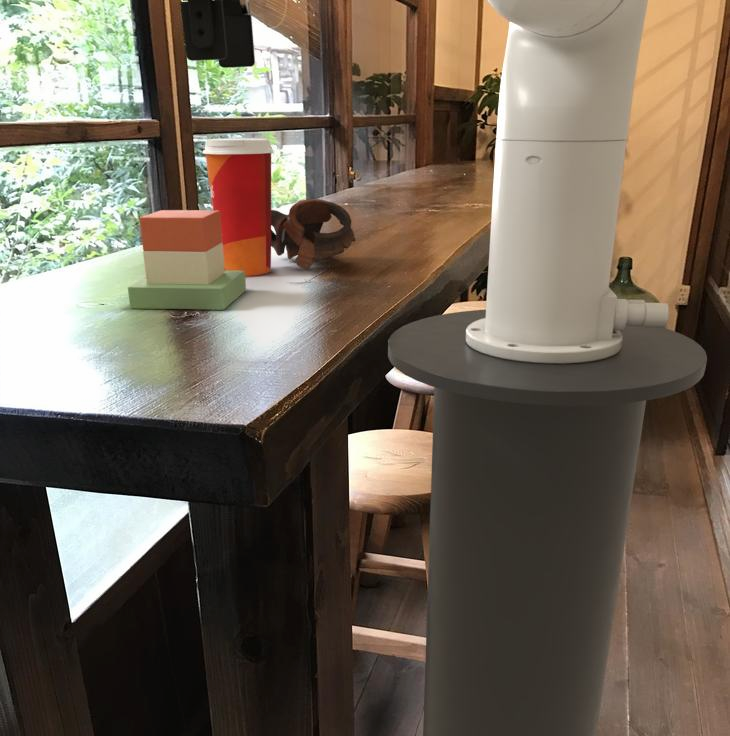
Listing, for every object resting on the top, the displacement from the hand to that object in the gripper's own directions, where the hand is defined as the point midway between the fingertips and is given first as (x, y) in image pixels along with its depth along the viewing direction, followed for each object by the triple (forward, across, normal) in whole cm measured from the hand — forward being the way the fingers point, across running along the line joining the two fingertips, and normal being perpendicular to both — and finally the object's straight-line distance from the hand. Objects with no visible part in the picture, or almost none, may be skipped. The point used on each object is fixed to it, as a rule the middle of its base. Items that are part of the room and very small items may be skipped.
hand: (223, 63), depth 68 cm
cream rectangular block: (+18, +2, +6) cm, 19 cm away
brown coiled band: (+20, +24, -2) cm, 31 cm away
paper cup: (+20, +18, +4) cm, 27 cm away
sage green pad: (+20, +2, +6) cm, 21 cm away
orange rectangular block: (+15, +2, +6) cm, 17 cm away
